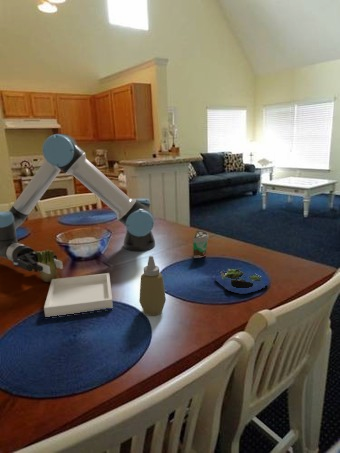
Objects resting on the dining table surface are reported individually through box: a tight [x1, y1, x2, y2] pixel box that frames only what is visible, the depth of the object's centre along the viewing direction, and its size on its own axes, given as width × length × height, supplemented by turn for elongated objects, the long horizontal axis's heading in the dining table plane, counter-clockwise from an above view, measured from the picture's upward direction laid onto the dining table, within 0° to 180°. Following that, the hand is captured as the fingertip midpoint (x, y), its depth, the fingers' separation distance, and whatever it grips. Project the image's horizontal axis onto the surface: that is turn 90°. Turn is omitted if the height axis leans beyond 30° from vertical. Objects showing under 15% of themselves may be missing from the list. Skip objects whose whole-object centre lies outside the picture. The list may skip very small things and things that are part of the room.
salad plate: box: [220, 268, 261, 288], centre depth 118 cm, size 19×18×5 cm
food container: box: [192, 229, 210, 257], centre depth 142 cm, size 12×6×10 cm, turn 168°
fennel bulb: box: [36, 249, 58, 283], centre depth 119 cm, size 6×5×12 cm
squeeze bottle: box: [138, 255, 167, 316], centre depth 97 cm, size 8×8×18 cm
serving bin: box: [43, 272, 114, 317], centre depth 108 cm, size 20×20×4 cm
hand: (55, 267), depth 116 cm, fingers closed on fennel bulb, 4 cm apart
